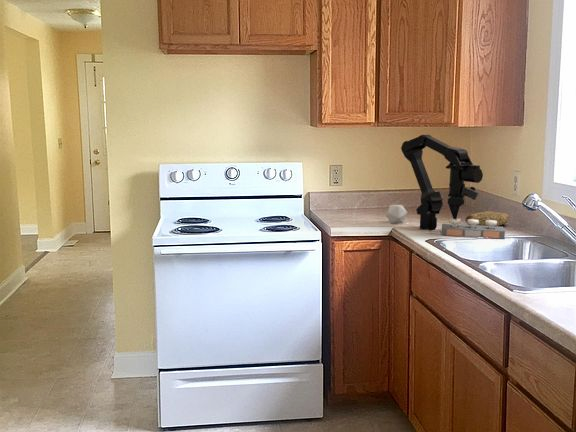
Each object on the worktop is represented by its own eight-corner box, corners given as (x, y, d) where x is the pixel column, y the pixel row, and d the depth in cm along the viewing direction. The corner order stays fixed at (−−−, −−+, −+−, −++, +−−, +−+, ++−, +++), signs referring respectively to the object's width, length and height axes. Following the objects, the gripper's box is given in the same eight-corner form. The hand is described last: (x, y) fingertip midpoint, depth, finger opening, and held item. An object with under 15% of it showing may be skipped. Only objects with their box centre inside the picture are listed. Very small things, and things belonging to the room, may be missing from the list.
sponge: (475, 232, 278) (519, 222, 281) (471, 214, 278) (515, 204, 281) (463, 232, 291) (505, 222, 294) (459, 215, 291) (501, 205, 294)
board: (441, 235, 263) (441, 228, 262) (441, 230, 274) (442, 223, 273) (504, 239, 257) (505, 231, 257) (502, 234, 268) (503, 226, 267)
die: (404, 222, 297) (392, 204, 298) (414, 215, 289) (401, 196, 290) (391, 231, 293) (378, 212, 294) (401, 224, 285) (388, 205, 286)
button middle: (466, 230, 263) (467, 220, 263) (466, 228, 268) (467, 218, 267) (478, 231, 262) (478, 221, 262) (478, 229, 267) (478, 219, 266)
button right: (485, 231, 262) (485, 221, 261) (484, 229, 266) (485, 219, 265) (496, 232, 261) (497, 222, 260) (496, 230, 265) (496, 220, 264)
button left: (448, 229, 265) (449, 219, 265) (449, 227, 269) (449, 218, 269) (460, 230, 264) (460, 220, 264) (460, 228, 268) (460, 218, 268)
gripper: (478, 183, 253) (476, 223, 255) (477, 179, 271) (474, 216, 273) (448, 182, 256) (446, 222, 258) (449, 178, 273) (447, 215, 276)
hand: (454, 219), depth 266 cm, fingers closed
